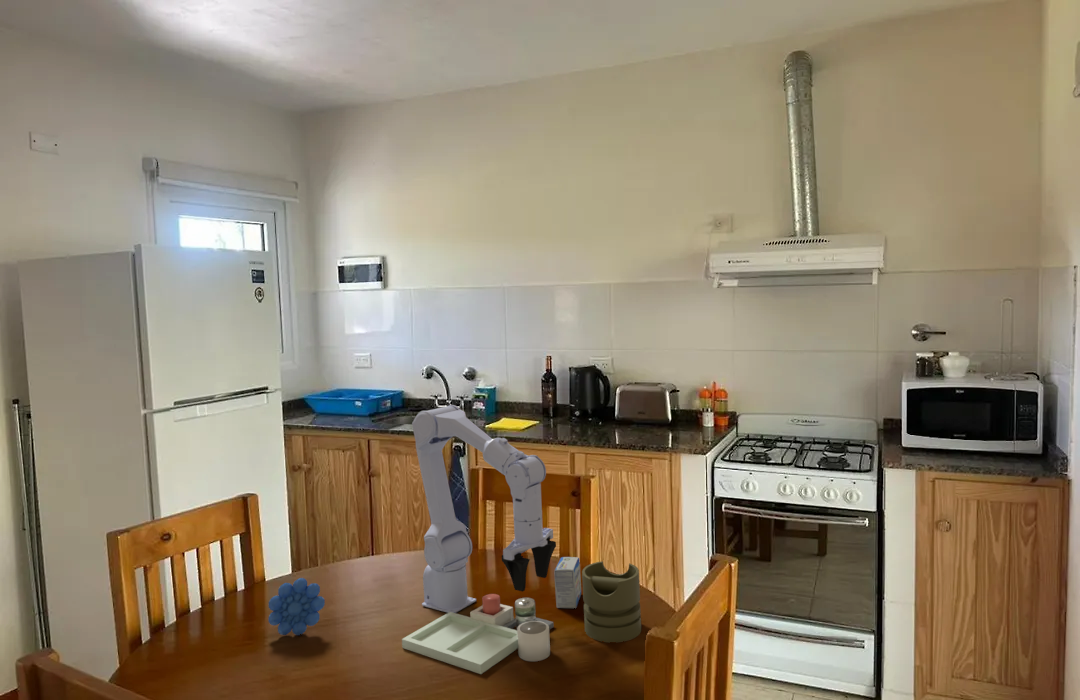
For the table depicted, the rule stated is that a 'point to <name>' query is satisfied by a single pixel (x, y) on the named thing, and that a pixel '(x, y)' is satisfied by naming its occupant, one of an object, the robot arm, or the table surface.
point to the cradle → (550, 624)
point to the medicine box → (567, 582)
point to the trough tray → (463, 642)
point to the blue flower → (296, 607)
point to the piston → (611, 603)
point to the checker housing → (498, 619)
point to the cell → (524, 610)
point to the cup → (533, 641)
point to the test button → (491, 604)
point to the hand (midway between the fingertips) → (530, 583)
